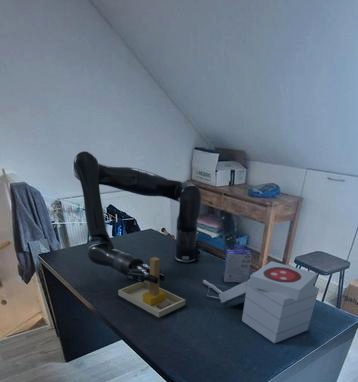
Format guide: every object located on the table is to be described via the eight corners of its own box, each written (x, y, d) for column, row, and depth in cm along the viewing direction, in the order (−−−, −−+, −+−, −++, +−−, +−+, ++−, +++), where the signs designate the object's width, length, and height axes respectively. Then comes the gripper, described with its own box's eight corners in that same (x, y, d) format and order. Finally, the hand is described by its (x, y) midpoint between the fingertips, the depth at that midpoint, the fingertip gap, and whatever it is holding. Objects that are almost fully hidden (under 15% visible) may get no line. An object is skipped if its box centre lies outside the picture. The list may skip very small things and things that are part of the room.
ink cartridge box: (246, 277, 141) (251, 244, 133) (248, 283, 136) (253, 248, 128) (222, 276, 141) (226, 243, 133) (224, 282, 136) (228, 248, 128)
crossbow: (242, 298, 127) (243, 293, 126) (215, 306, 121) (216, 301, 120) (216, 279, 137) (216, 275, 136) (190, 286, 132) (191, 281, 130)
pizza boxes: (252, 293, 128) (259, 248, 119) (316, 331, 107) (332, 279, 97) (212, 305, 119) (216, 257, 110) (273, 349, 98) (286, 294, 88)
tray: (118, 296, 123) (118, 290, 121) (144, 286, 131) (144, 280, 129) (158, 319, 110) (158, 312, 109) (185, 306, 118) (185, 299, 117)
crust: (156, 307, 115) (156, 304, 115) (166, 303, 118) (166, 300, 118) (162, 310, 114) (162, 307, 113) (172, 306, 117) (172, 303, 116)
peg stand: (142, 301, 118) (142, 259, 109) (157, 295, 123) (158, 254, 114) (151, 306, 116) (151, 263, 107) (165, 300, 120) (167, 258, 111)
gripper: (111, 259, 116) (144, 275, 106) (142, 250, 125) (175, 263, 115) (113, 279, 120) (145, 296, 110) (142, 269, 129) (175, 283, 119)
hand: (160, 279), depth 112 cm, fingers closed on peg stand, 2 cm apart
